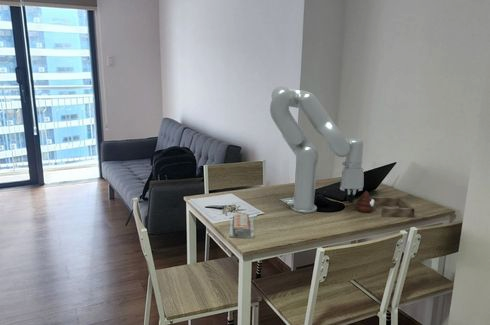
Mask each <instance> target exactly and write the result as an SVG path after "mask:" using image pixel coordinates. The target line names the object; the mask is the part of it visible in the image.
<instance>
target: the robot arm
mask: <svg viewBox="0 0 490 325" xmlns="http://www.w3.org/2000/svg"><path fill="white" fill-rule="evenodd" d="M270 101H271V102H270V106H269V112H270V117H271V120H272V121H273V123H274V124H275V126H276V127H277V128H278V130H279V131H280V133H281V135H282V138H283V140H284V141H285V142H286V144H287V145H288V147H289V148H290V149H291V151H292V152H293V154H294V155H295V156H296V166H295V175H294V176H295V178H294V194H293V197H292V198H291V199H287V198H285V199H284V200H283V202H284V204H287V205H290V209H291V210H292V211H295V212H297V213H298V212H299V213H303V214H304V213H305V214H307V213H314V212H316V211H317V209H318V207H317V205H315V194H316V180H317V167H318V162H319V152H318V150H317V148H316V146H315V145H314V144H313V143H311V141H310V140H309V137H307V135H306V134H305V132H304V129H303V128H302V127H301V126H300V125H299V123H298V122H297V120H296V119H295V118H294V116H293V114H292V113H291V111H290V107H291V108H295V109H300V111H301V112H302V113H303V114H304V115H305V117H306V118H307V120H308V121H309V123H310V124H311V125H312V127H313V128H314V130H315V131H316V132H317V133H318V134H319V135H320V136H321V137H323V139H324V140H325V141H326V142H327V144H328V148H329V150H330V151H331V152H332V153H333V154H334V155H335V156H337V157H339V158H344V157H345V160H344V161H342V162H341V165H342V166H343V168H342V171H341V177H340V187H339V189H340V191H343V192H345V193H346V201H348V202H347V203H352V204H353V203H354V202H353V201H355V195H356V193H358V192H361V191H363V188H364V185H365V184H364V178H365V176H364V175H365V174H364V173H365V172H364V168H363V167H362V166H363V165H362V163H363V153H364V141H363V139H361V138H346V137H345V136H344V135H343V133H342V132H341V130H340V129H339V128H338V126H337V125H336V124H335V122H334V120H332V118H331V117H330V115H329V114H328V113H327V111H326V109H325V108H324V107H323V106H322V104H321V102H320V101H319V100H318V98H317V97H316V96H315V94H314V93H313V92H310V91H307V90H302V89H296V88H290V87H286V86H277V87H275V88H274V89H273V90H272V92H271V100H270Z"/></svg>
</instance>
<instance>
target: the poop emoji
mask: <svg viewBox="0 0 490 325" xmlns="http://www.w3.org/2000/svg"><path fill="white" fill-rule="evenodd" d="M374 203H375V201H374V200H373V199H372V197H371V196H370V193H369V192H368V190H365V191H364V192H363V193H362V194H361V195H360V197H359V198H358V199H357V202H356V203H355V209H356V211H358V212H359V213H365V214H367V213H372V212H373V210H374V207H375V205H374Z"/></svg>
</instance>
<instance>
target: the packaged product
mask: <svg viewBox="0 0 490 325" xmlns="http://www.w3.org/2000/svg"><path fill="white" fill-rule="evenodd" d="M249 217H250V214H249V213H246V212H242V213H238V214H233V217H232V219H230V222H229V224H230V226H229V238H230V239H255V228H254V218H249Z"/></svg>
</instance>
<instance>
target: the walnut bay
mask: <svg viewBox="0 0 490 325" xmlns="http://www.w3.org/2000/svg"><path fill="white" fill-rule="evenodd" d="M371 199H373V200H374V201H375V203H374V206H381V214H380V216H381V217H387V218H388V217H389V218H412V219H413V218H414V215H415V208H414V207H412V205H411V204H409V203H408V202H407V201H406V200H405V199H404V198H402V197H398V196H397V197H396V196H395V197H393V196H391V197H390V196H372V197H371Z"/></svg>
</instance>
